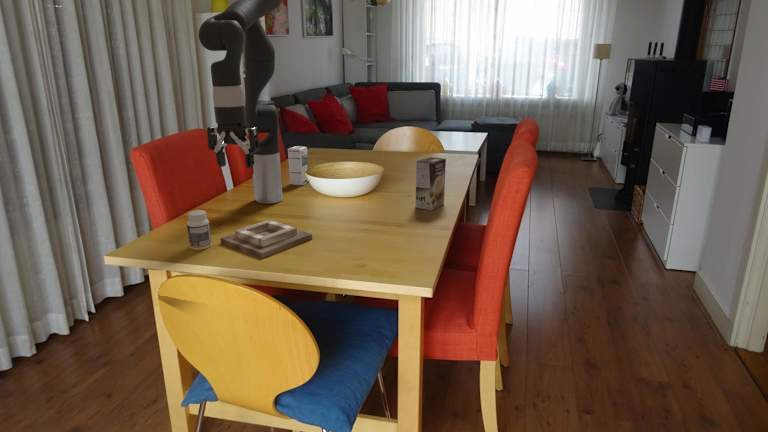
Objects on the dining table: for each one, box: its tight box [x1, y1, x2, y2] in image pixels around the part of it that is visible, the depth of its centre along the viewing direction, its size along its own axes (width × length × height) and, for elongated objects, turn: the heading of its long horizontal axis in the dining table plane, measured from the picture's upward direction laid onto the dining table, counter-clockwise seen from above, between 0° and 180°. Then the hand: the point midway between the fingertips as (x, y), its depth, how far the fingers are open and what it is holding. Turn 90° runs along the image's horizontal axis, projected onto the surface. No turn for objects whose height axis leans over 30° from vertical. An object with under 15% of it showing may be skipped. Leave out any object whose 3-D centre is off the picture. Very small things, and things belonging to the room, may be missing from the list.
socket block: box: [219, 219, 313, 259], centre depth 149 cm, size 18×18×4 cm
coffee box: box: [415, 156, 447, 211], centre depth 178 cm, size 9×6×16 cm
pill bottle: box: [186, 209, 212, 251], centre depth 144 cm, size 6×6×10 cm
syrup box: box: [287, 145, 310, 186], centre depth 208 cm, size 6×6×14 cm
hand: (236, 167), depth 139 cm, fingers open, 8 cm apart
